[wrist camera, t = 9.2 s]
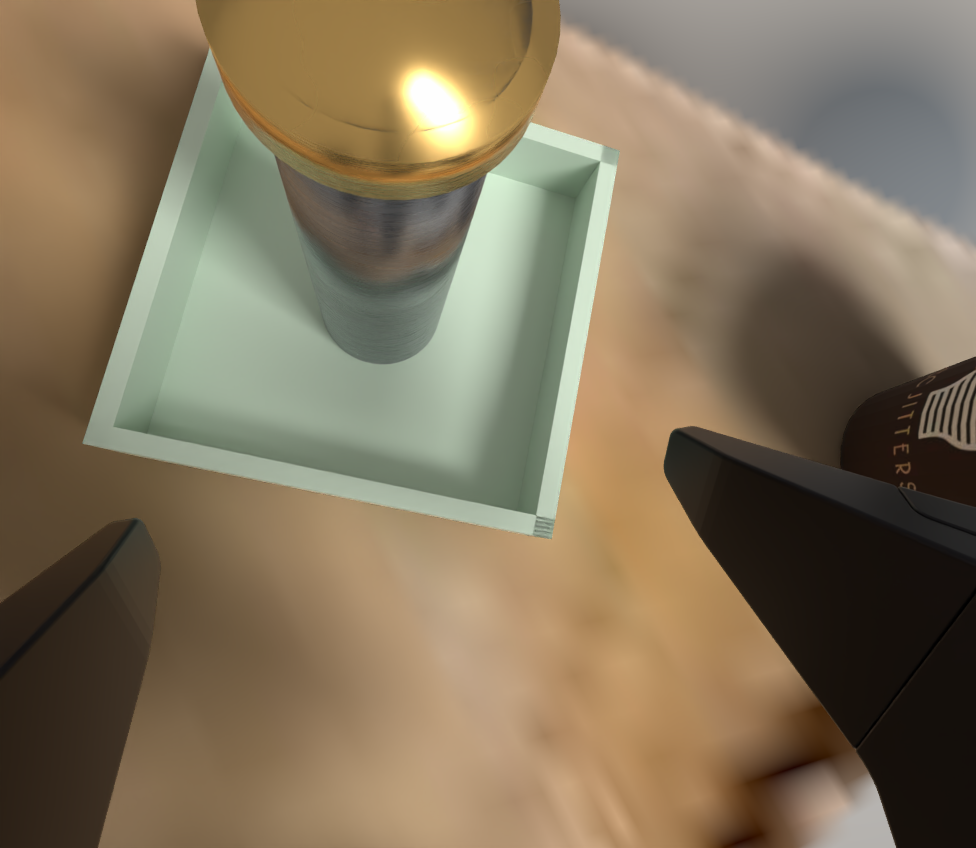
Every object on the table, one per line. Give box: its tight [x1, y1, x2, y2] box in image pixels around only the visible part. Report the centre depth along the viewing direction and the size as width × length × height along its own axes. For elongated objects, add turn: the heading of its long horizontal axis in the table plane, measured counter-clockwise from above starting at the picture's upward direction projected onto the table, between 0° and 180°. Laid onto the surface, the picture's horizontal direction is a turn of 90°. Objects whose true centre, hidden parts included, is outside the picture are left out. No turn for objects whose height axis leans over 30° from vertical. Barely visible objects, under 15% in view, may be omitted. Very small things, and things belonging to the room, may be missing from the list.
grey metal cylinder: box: [196, 0, 561, 364], centre depth 14 cm, size 5×5×13 cm
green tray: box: [82, 49, 620, 539], centre depth 20 cm, size 13×13×3 cm
